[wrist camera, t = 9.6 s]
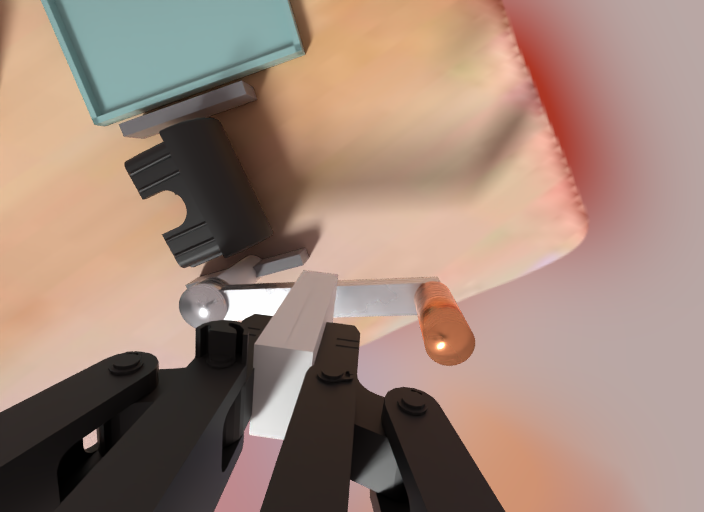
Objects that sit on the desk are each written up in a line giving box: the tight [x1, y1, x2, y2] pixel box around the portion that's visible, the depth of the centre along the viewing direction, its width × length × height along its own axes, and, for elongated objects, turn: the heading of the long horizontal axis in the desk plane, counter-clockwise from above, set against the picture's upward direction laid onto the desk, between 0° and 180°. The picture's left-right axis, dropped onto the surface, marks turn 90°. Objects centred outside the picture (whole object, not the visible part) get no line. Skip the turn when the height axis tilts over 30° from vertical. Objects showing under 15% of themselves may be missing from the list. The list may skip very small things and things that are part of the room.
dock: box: [119, 81, 309, 289], centre depth 29 cm, size 11×16×8 cm
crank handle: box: [179, 277, 475, 366], centre depth 22 cm, size 3×18×8 cm, turn 94°
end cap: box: [124, 118, 273, 268], centre depth 29 cm, size 10×7×7 cm
